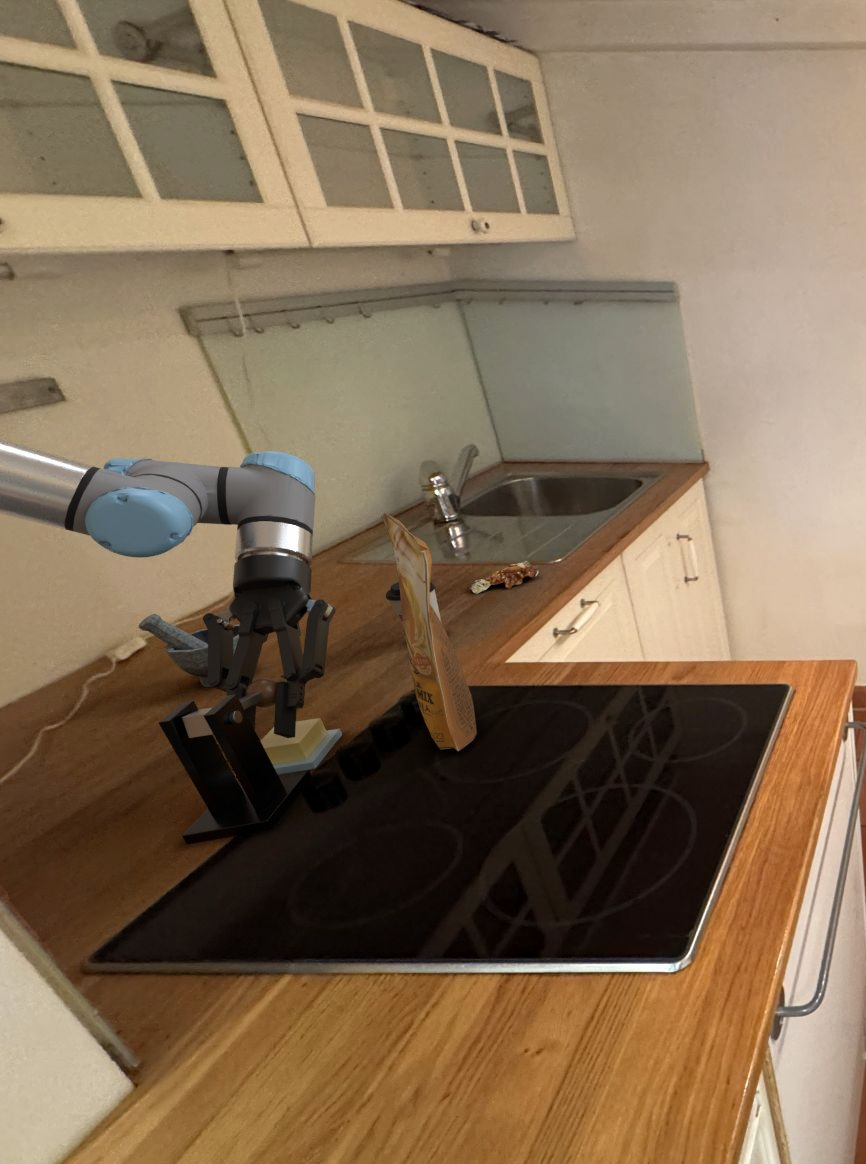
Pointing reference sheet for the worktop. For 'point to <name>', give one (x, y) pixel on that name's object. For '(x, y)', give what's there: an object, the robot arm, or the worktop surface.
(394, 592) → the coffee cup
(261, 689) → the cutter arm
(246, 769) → the lever base
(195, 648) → the mortar and pestle
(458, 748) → the pancake mix bag
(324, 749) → the butter dish
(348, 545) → the worktop surface
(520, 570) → the pastry
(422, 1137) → the worktop surface
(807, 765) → the worktop surface
